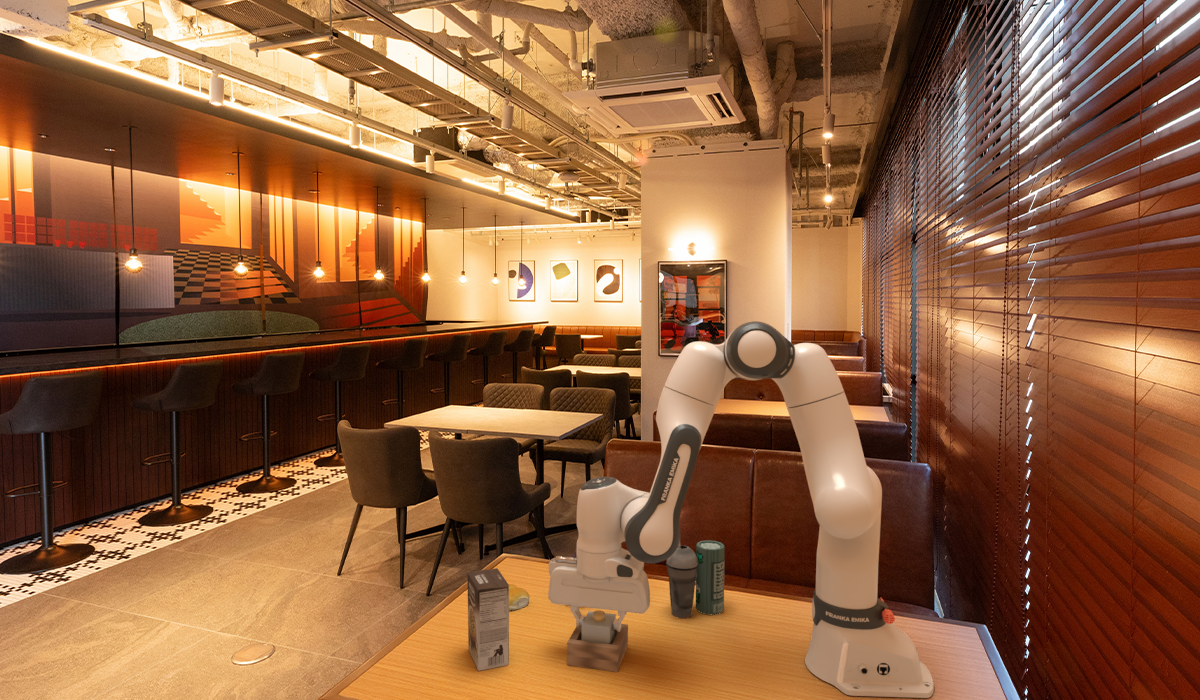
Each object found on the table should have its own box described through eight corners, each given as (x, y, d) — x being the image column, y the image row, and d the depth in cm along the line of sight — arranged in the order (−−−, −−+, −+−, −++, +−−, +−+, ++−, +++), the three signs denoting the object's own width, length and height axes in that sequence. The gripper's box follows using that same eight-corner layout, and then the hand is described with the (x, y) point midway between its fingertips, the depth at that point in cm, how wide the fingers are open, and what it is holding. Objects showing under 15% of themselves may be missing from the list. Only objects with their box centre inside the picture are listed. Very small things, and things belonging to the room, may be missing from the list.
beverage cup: (696, 622, 144) (698, 533, 143) (663, 619, 146) (664, 531, 145) (698, 608, 151) (699, 523, 150) (667, 605, 153) (668, 520, 152)
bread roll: (511, 592, 160) (511, 576, 160) (534, 604, 154) (534, 587, 153) (483, 602, 154) (483, 586, 154) (506, 615, 148) (506, 598, 148)
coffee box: (467, 649, 133) (466, 571, 132) (498, 643, 135) (497, 566, 134) (477, 672, 124) (476, 589, 123) (510, 665, 127) (509, 583, 126)
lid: (615, 635, 133) (615, 608, 132) (609, 649, 127) (609, 621, 127) (588, 632, 134) (588, 605, 134) (581, 646, 128) (581, 618, 128)
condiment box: (627, 645, 134) (628, 624, 134) (617, 672, 125) (617, 649, 124) (580, 639, 137) (580, 618, 136) (567, 665, 127) (567, 642, 127)
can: (706, 600, 155) (707, 538, 154) (728, 608, 151) (729, 544, 150) (691, 608, 151) (691, 545, 150) (713, 617, 147) (713, 552, 146)
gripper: (543, 561, 129) (543, 629, 130) (646, 571, 124) (645, 642, 125) (553, 549, 135) (553, 614, 136) (651, 558, 130) (651, 626, 131)
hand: (598, 628), depth 130 cm, fingers open, 6 cm apart
